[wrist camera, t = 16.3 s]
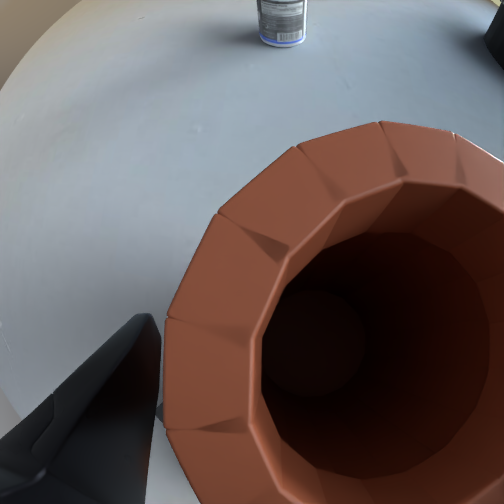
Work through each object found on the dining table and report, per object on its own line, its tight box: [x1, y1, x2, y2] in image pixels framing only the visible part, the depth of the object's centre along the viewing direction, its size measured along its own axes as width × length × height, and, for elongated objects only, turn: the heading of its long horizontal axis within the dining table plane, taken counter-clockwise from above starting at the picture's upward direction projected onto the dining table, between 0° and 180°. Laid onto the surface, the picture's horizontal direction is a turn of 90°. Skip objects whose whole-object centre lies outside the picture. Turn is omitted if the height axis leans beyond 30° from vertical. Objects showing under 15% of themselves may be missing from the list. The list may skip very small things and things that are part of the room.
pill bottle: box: [257, 0, 308, 47], centre depth 21 cm, size 5×5×8 cm
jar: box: [163, 121, 504, 504], centre depth 10 cm, size 7×7×14 cm
